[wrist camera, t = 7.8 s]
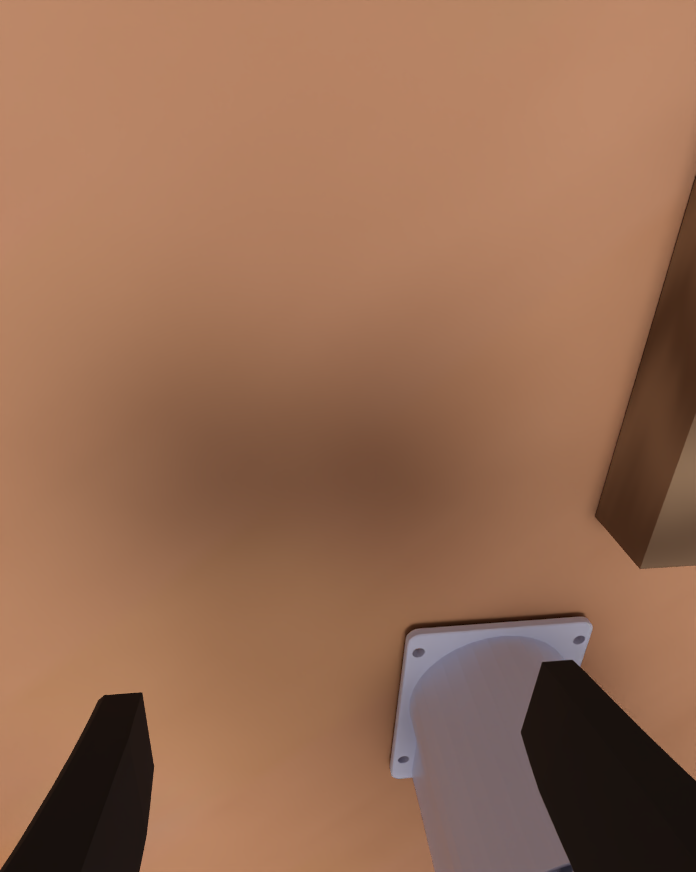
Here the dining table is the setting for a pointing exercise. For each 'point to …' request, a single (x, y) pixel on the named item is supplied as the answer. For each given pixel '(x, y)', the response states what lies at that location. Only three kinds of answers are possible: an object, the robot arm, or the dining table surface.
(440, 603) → the dining table surface
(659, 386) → the walnut plinth
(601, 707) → the robot arm
